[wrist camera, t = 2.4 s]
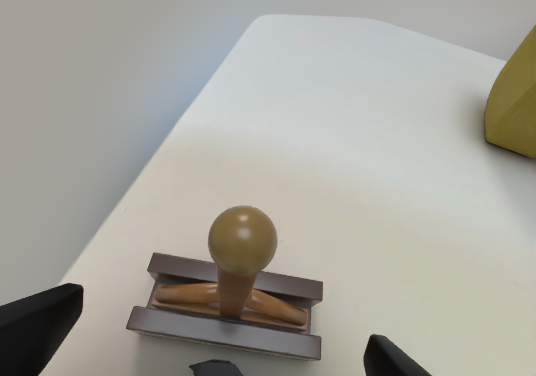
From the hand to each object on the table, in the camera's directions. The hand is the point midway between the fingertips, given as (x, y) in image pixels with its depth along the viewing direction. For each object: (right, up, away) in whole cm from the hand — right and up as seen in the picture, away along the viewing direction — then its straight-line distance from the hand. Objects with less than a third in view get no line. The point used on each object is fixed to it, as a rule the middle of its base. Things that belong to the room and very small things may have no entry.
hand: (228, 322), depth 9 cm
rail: (-1, -4, +9) cm, 10 cm away
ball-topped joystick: (-1, -3, +9) cm, 9 cm away
